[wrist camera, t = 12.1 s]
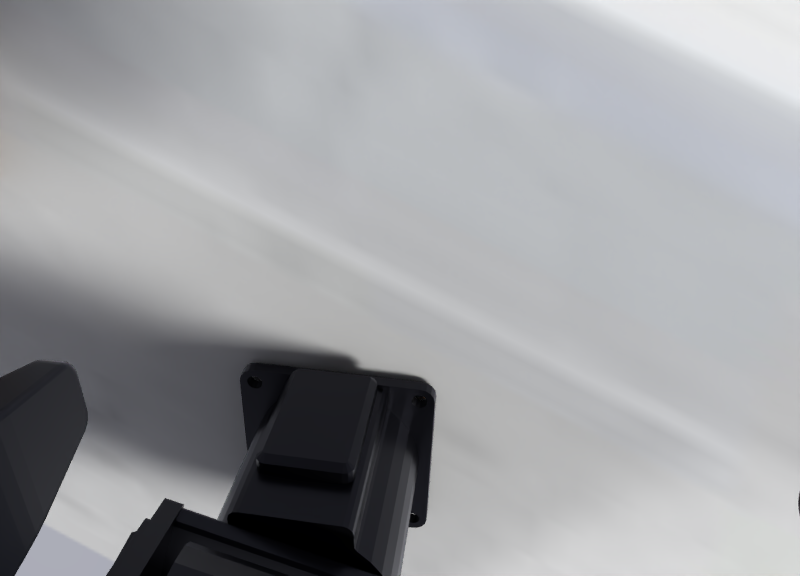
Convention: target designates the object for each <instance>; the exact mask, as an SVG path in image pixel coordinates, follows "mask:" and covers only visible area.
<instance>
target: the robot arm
mask: <svg viewBox="0 0 800 576" xmlns="http://www.w3.org/2000/svg"><path fill="white" fill-rule="evenodd" d="M252 376H255V377H258V378H259V379H260V380H261V381H257V380H255V379H254V378H253V377H252ZM240 384H241V394H242V403H243V413H244V422H245V431H246V441H247V450H248V452H247V454H246V456H245V459H244V461H243V463H242V465H241V467H240V470H239V472H238V474H237V476H236V479H235V481H234V483H233V485H232V488H231V490H230V492H229V494H228V496H227V499H226V501H225V503H224V505H223V508H222V510H221V512H220V514H219V516H218V519H217V520H216V519H214V518H211V517H208V516H205V515H202V514H199V513H196V512H193V511H190V510H187V509H185V508H183V507H184V504H181V503H178V502H175V501H172V500H169V499H166V498H165V499H164V500H163V502H162V503H161V505H160V506H159V508H158V509H157V511H156V512H155V514H154V515H153V517H152V518H151V520H150V519H147V518H146V519H145V520H144V521H143V523H142V524H141V526H140V527H139V528H138V530H137V531H135V532H132V533H131V535H130V536H129V538H128V540H127V542H126V543H125V545H124V547H123V549H122V550H121V552H120V554H119V556H118V558H117V559H116V561H115V563H114V565H113V566H112V568H111V569H110V571H109V572H108V574H107V575H106V576H400V575H401V569H402V563H403V557H404V551H405V544H406V538H407V532H408V527H420V526H422V525H424V524H425V522H426V518H427V510H428V497H429V484H430V470H431V457H432V444H433V431H434V418H435V404H436V392H435V390H434V388H433V387H432V386H430V385H429V384H427V383H424V382H418V381H409V380H400V379H392V378H383V377H374V376H365V375H357V374H348V373H339V372H331V371H322V370H313V369H304V368H296V367H287V366H278V365H270V364H261V363H252V364H249V365H247V367H246V368H245V369H244V371H243V373H242V375H241V378H240ZM415 396H423V397H425V398H426V399H425V400H419V399H417V398H415ZM87 420H88V413H87V408H86V404H85V401H84V397H83V393H82V390H81V386H80V383H79V379H78V375H77V372H76V370H75V368H74V367H73V365H71V364H70V363H68V362H62V361H52V360H37V361H34V362H32V363H30V364H28V365H26V366H24V367H22V368H19V369H17V370H15V371H13V372H11V373H9V374H7V375H5V376H3V377H1V378H0V576H15V574H16V572H17V570H18V569H19V567H20V565H21V564H22V562H23V560H24V558H25V557H26V555H27V553H28V551H29V549H30V548H31V546H32V544H33V542H34V541H35V539H36V537H37V535H38V533H39V531H40V529H41V527H42V525H43V523H44V521H45V519H46V517H47V514H48V512H49V510H50V508H51V505H52V503H53V501H54V499H55V497H56V494H57V492H58V490H59V488H60V485H61V483H62V481H63V479H64V477H65V474H66V472H67V470H68V468H69V465H70V463H71V461H72V459H73V457H74V454H75V452H76V450H77V448H78V446H79V443H80V441H81V439H82V437H83V434H84V432H85V429H86V426H87ZM798 506H799V514H800V493H799V500H798ZM411 513H414V514H411Z"/></svg>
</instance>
